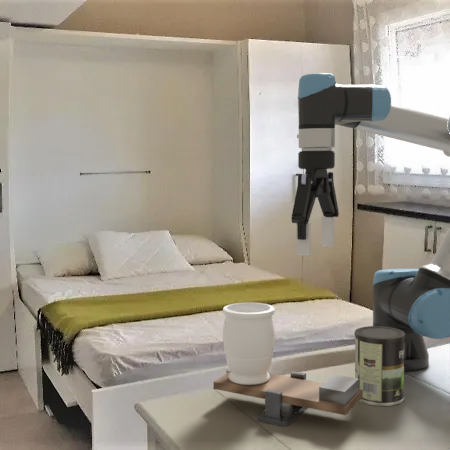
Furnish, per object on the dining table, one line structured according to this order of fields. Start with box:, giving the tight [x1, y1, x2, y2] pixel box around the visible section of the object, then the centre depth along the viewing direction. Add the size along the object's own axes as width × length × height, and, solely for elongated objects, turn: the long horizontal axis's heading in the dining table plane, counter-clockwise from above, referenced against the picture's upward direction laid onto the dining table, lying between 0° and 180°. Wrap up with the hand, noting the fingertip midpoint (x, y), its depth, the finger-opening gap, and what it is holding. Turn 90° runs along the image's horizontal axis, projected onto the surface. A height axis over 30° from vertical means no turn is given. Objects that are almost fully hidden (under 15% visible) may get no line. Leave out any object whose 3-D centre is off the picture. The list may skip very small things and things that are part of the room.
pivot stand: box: [256, 370, 307, 428], centre depth 129 cm, size 6×14×6 cm, turn 150°
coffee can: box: [354, 325, 405, 407], centre depth 136 cm, size 10×10×14 cm
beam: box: [213, 370, 363, 416], centre depth 129 cm, size 28×10×4 cm, turn 60°
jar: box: [222, 301, 276, 385], centre depth 132 cm, size 11×10×15 cm
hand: (316, 251), depth 137 cm, fingers open, 13 cm apart
